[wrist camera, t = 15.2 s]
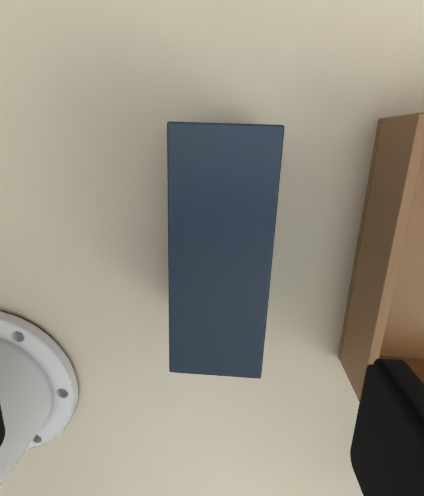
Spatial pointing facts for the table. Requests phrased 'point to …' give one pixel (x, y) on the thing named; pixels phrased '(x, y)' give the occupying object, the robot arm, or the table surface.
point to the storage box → (389, 256)
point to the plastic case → (220, 244)
